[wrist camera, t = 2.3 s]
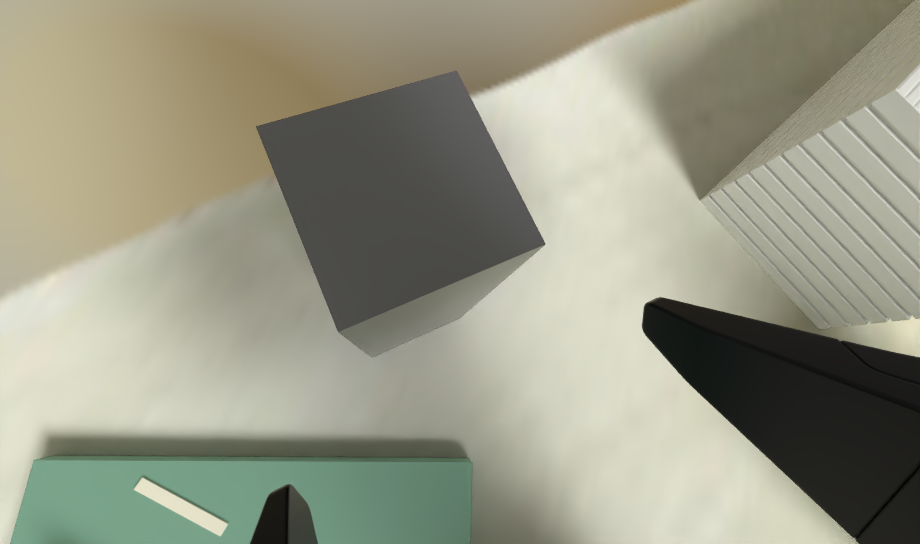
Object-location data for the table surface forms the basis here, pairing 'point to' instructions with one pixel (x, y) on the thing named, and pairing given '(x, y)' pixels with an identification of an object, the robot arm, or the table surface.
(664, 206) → the table surface
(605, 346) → the table surface
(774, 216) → the stack of papers
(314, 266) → the block
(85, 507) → the board
